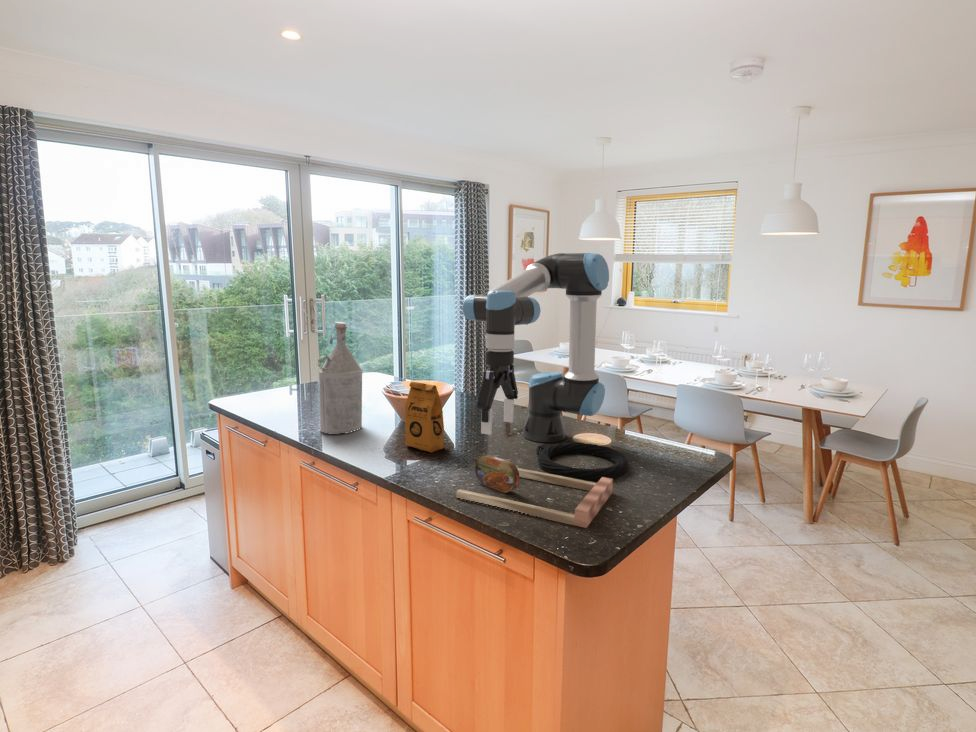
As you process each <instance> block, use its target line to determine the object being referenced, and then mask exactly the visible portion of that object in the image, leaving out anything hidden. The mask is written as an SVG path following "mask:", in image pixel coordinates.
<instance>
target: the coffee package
mask: <svg viewBox="0 0 976 732" xmlns="http://www.w3.org/2000/svg"><path fill="white" fill-rule="evenodd" d="M409 387H410V388H409V391H408V394H407V398H406V401H405V405H404V422H405V427H404V429H405V446H408V447H412V448H414V449H417V450H420V451H424V452H429V453H433V452H436V451H439V450H440V451H441V450H442V449H444V432H445V431H444V430H445V425H444V424H445V423H444V414H443V413H444V412H443V405H442V402H441V398H440V395H439V391H438V388H437V385H435V384H429V383H423V382H416V381H412V380H411V381H410V383H409Z"/></svg>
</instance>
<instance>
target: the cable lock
mask: <svg viewBox="0 0 976 732" xmlns="http://www.w3.org/2000/svg"><path fill="white" fill-rule="evenodd" d="M535 451H536V452H535V453H536V455H537V463H538V464H539V466H540V468H542V470H544V471H545V472H546V473H548V474H553V475H558V476H563V477H568V478H574V479H579V480H584V481H589V482H595V481H597V482H598V481H599V480H600V479H601V478H602V477H606V478H611V479H615V478H619V477H620V476H622V475H623V474H625V473H626V472H627V470H628V469H629V468H628V467H629V462H628V461H629V460H628V459H627V458H626V456H625V455H624V454H622V453H620V452H619V451H618V450H615V449H613V448H610V447H608V446H603V445H599V444H593V443H584V442H563V443H558V444H557V443H556V444H552V443H551V444H546V443H543V444H542V443H538V444H537V446H536V449H535ZM578 453H580V454H579V455H581V454H583V455H590V454H593V455H592V456H595V455H596V457H601V456H602V458H603V457H604V458H603V459H606V460H608V461H611V462H612V463H614V465H610V466H608V467H599V468H584V467H583V468H582V467H581V468H580V467H579V468H577V467H573V466H572V467H571V466H568V465H562V464H560V463H558V462H555V461H553V460H551V459H552V458H553V457H555V456H560V455H567V454H568V455H569V454H578Z"/></svg>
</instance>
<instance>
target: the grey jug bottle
mask: <svg viewBox="0 0 976 732" xmlns="http://www.w3.org/2000/svg"><path fill="white" fill-rule="evenodd" d="M347 325H348V324H347V323H346V322H345V321H335V322H334V328H333V332H331V333H330V334H331V335H330V339H329V341H328V342H329V344H330V345H333V342H334V341H333V340H335V339H336V344H335V346H334V347H333V349H332V351H331V352H330V354H329V355H327V356H326V355H321V356H320V357H319V358H318V360H317V366H318V367H319V368H320V369H319V371H318V375H319V376H318V379H319V380H318V381H319V382H318V385H319V388H318V389H319V423H320V425H319V426H320V430H319V431H320V432H321V433H323V432H324V433H323V434H327V433H331V434H330V435H340V434H339V433H345V434H347V433H346V432H350V433H352V432H351V431H354V430H357V429H359V428H361V429H362V427H363V423H362V422H363V421H362V420H363V417H362V416H363V369H362V368H361V366H360V365H359V363H358V362H357V360H356V359H355V357H354V356H353V354H352V352H351V351H350V350H349V348H348V346H347V344H346V340H347V337H346V334H347V329H348V327H347ZM334 330H336V333H335V331H334ZM333 334H334V335H335V337H333ZM323 358H326V360H325V361H324V363H323V364H322V360H323ZM359 430H360V429H359ZM357 431H358V430H357ZM354 432H355V431H354Z"/></svg>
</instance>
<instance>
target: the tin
mask: <svg viewBox="0 0 976 732" xmlns="http://www.w3.org/2000/svg"><path fill="white" fill-rule="evenodd" d="M517 468H518V467H517V466H516V465H515V464H514V463H513V462H512V461H510V460H506V459H503V458H501V457H500V458H499V457H498V456H497V457H496V456H494V455H489V454H488V455H481V456H480V457H478V458H477V460H476V461H475V466H474V471H475V477H476V478H477V480H478V482H479V483H480V484H481V485H482V486H484V485H485V487H487V486H488V487H487V488H490V489H493V490H495V491H498V492H499V493H503V494H508V493H510V492H513V491H515V490H516V489H517V488H518V486H519V483H520V477H519V471H518V469H517Z"/></svg>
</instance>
